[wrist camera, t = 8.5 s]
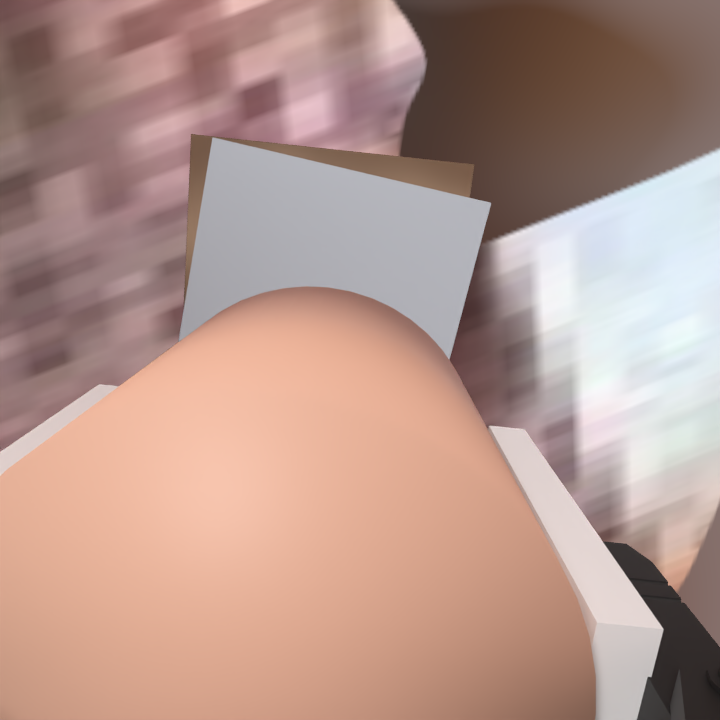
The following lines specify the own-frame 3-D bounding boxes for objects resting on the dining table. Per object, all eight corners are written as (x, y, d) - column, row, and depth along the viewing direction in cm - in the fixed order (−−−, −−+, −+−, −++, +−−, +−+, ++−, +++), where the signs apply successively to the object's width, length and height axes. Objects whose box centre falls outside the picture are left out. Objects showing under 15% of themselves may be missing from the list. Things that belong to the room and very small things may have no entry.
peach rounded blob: (155, 268, 14) (-111, 350, 6) (499, 306, 14) (665, 435, 6) (145, 575, 16) (-73, 942, 8) (449, 607, 16) (531, 997, 8)
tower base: (217, 145, 34) (191, 134, 29) (459, 171, 34) (474, 164, 29) (205, 380, 37) (179, 405, 32) (428, 403, 37) (436, 432, 32)
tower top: (238, 149, 29) (212, 137, 25) (471, 204, 30) (491, 202, 25) (198, 376, 32) (167, 406, 27) (414, 424, 32) (422, 462, 27)
